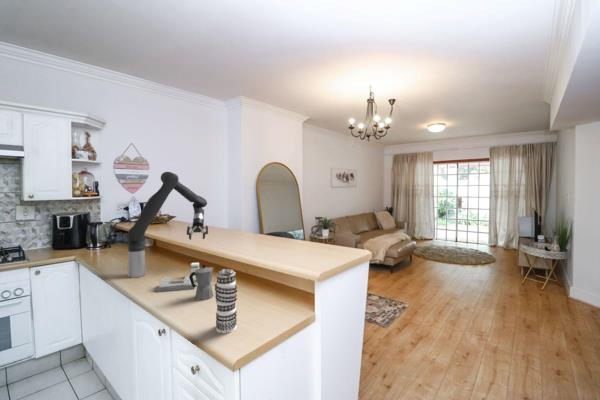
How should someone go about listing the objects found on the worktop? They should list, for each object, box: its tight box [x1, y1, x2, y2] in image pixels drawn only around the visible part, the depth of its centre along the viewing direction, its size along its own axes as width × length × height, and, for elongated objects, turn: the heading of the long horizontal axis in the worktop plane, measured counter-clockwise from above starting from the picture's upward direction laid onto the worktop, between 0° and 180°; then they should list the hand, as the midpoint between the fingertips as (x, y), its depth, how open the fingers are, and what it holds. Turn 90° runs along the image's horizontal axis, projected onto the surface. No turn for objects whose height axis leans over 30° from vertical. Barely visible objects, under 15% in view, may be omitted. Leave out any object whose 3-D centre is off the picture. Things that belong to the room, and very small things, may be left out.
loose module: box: [190, 262, 200, 279], centre depth 178 cm, size 4×4×9 cm
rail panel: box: [156, 275, 197, 293], centre depth 160 cm, size 20×12×5 cm, turn 105°
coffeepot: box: [188, 264, 215, 301], centre depth 144 cm, size 15×9×18 cm, turn 147°
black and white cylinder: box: [214, 268, 238, 334], centre depth 114 cm, size 9×9×25 cm
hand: (196, 238), depth 188 cm, fingers open, 8 cm apart
